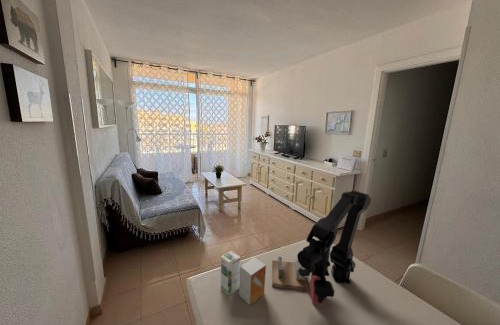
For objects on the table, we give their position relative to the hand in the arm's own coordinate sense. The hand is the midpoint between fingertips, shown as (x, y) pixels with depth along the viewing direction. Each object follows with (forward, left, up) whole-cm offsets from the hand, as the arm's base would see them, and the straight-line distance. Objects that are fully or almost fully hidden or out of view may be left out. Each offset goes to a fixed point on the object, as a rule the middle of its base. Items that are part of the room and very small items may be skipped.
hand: (316, 291), depth 78 cm
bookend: (+14, -10, -1) cm, 17 cm away
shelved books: (+5, -10, -1) cm, 11 cm away
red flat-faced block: (0, 0, -3) cm, 3 cm away
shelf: (+10, -10, -2) cm, 14 cm away
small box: (+25, +2, -3) cm, 25 cm away
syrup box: (+34, 0, -3) cm, 34 cm away
